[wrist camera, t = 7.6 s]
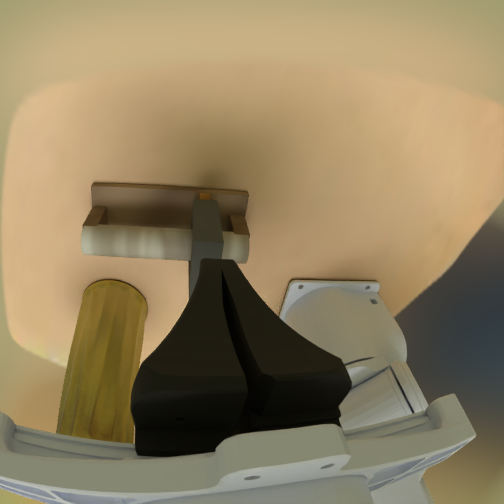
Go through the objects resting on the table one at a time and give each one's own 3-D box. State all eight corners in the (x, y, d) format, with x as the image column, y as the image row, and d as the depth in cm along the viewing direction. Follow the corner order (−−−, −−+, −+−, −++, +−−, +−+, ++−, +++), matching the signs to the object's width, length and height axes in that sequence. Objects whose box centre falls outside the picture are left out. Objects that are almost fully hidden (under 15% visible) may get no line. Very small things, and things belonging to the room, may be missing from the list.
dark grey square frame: (217, 200, 21) (223, 242, 17) (210, 255, 24) (215, 303, 20) (193, 199, 21) (193, 241, 17) (188, 253, 23) (189, 302, 19)
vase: (90, 327, 28) (66, 465, 16) (76, 277, 24) (31, 431, 13) (150, 329, 29) (146, 474, 17) (144, 279, 26) (129, 444, 14)
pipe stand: (247, 192, 23) (258, 223, 19) (236, 250, 25) (245, 288, 22) (93, 182, 20) (73, 212, 17) (97, 243, 23) (83, 280, 19)
